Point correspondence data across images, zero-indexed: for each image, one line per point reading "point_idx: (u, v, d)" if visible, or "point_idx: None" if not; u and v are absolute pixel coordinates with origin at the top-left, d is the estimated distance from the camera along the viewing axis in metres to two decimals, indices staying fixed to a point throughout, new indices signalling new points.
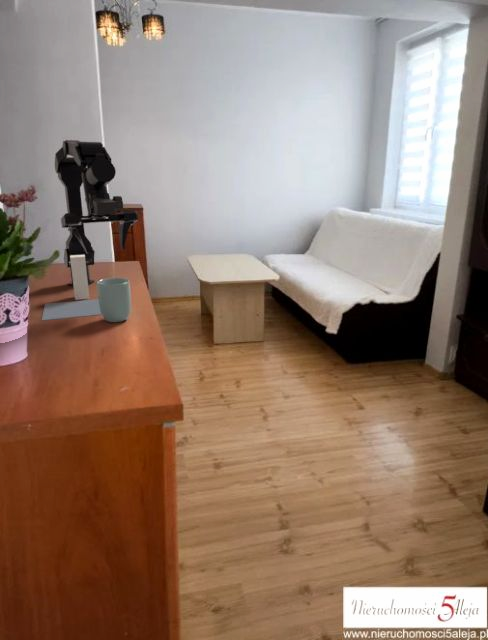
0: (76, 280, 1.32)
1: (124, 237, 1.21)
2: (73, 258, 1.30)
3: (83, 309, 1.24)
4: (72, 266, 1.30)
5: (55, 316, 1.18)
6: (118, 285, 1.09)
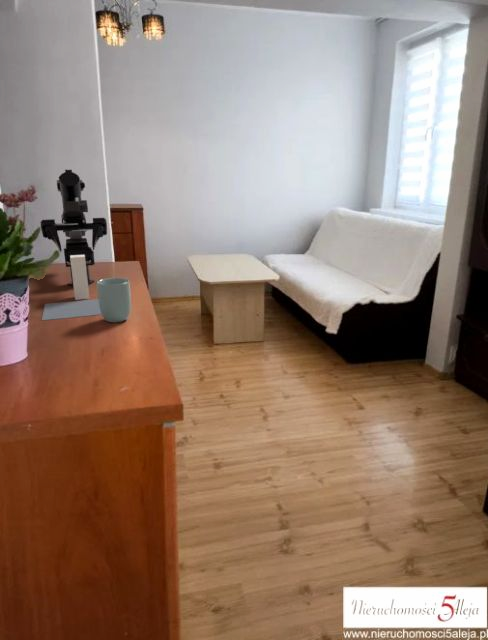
0: (76, 280, 1.32)
1: (94, 238, 1.38)
2: (73, 258, 1.30)
3: (83, 309, 1.24)
4: (72, 266, 1.30)
5: (55, 316, 1.18)
6: (118, 285, 1.09)
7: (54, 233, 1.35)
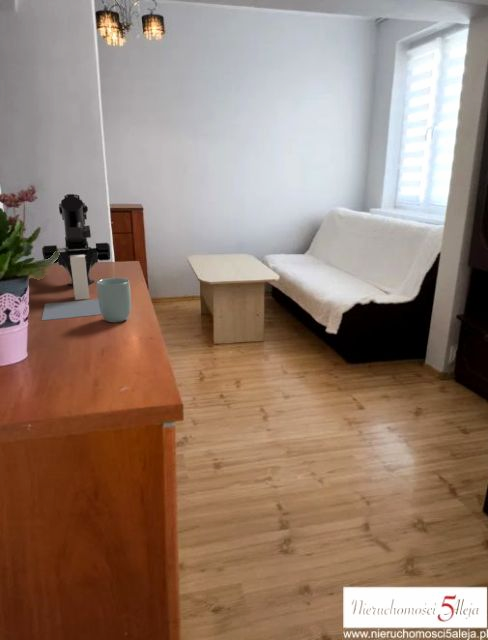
0: (76, 280, 1.32)
1: (88, 264, 1.34)
2: (73, 258, 1.30)
3: (83, 309, 1.24)
4: (72, 266, 1.30)
5: (55, 316, 1.18)
6: (118, 285, 1.09)
7: (65, 259, 1.32)
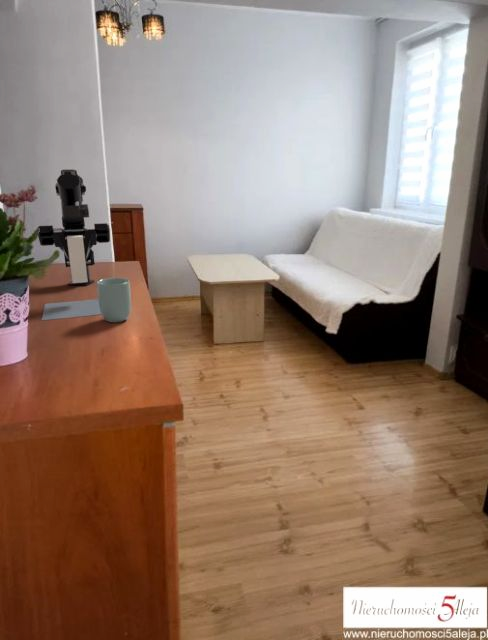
0: (73, 261, 1.24)
1: (86, 245, 1.26)
2: (70, 238, 1.22)
3: (83, 309, 1.24)
4: (69, 247, 1.23)
5: (55, 316, 1.18)
6: (118, 285, 1.09)
7: (62, 240, 1.24)
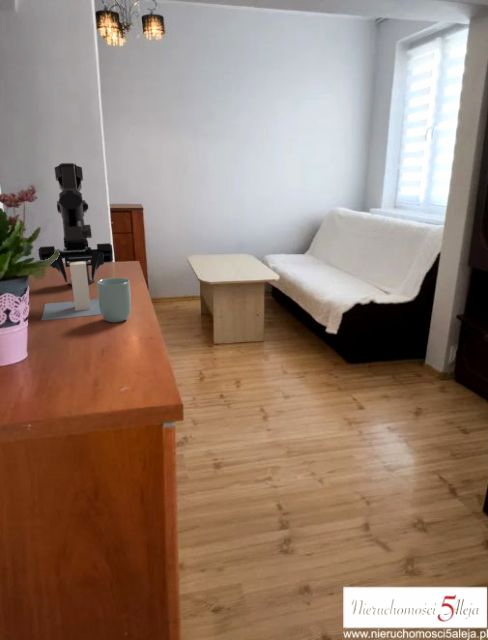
0: (76, 289, 1.21)
1: (93, 266, 1.23)
2: (73, 265, 1.19)
3: None
4: (72, 274, 1.20)
5: (55, 316, 1.18)
6: (118, 285, 1.09)
7: (59, 261, 1.21)
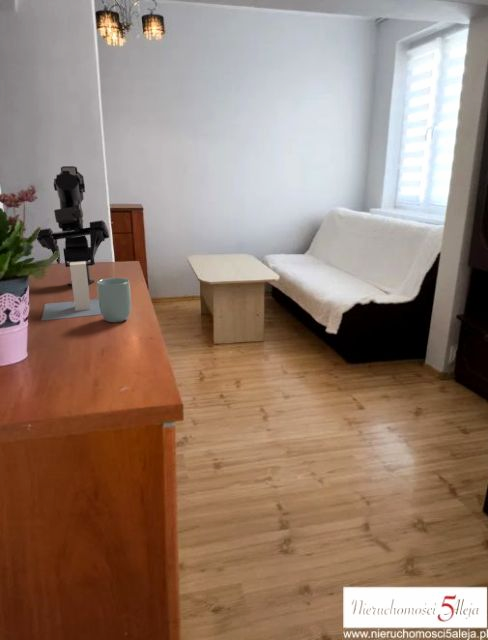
0: (76, 289, 1.21)
1: (92, 245, 1.26)
2: (73, 265, 1.19)
3: None
4: (72, 274, 1.20)
5: (55, 316, 1.18)
6: (118, 285, 1.09)
7: (50, 244, 1.25)
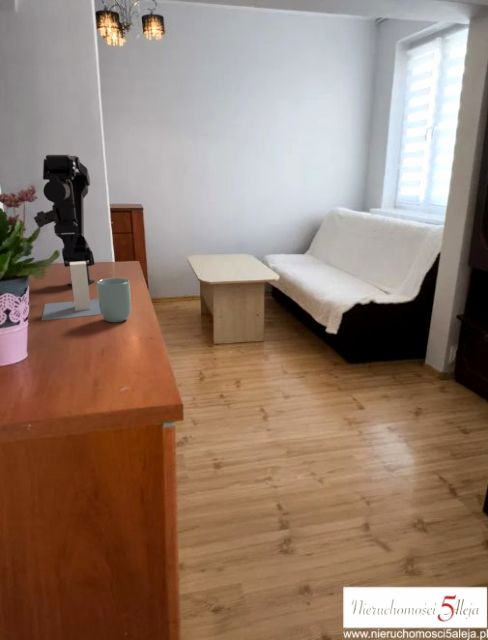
0: (76, 289, 1.21)
1: (64, 246, 1.31)
2: (73, 265, 1.19)
3: None
4: (72, 274, 1.20)
5: (55, 316, 1.18)
6: (118, 285, 1.09)
7: None
